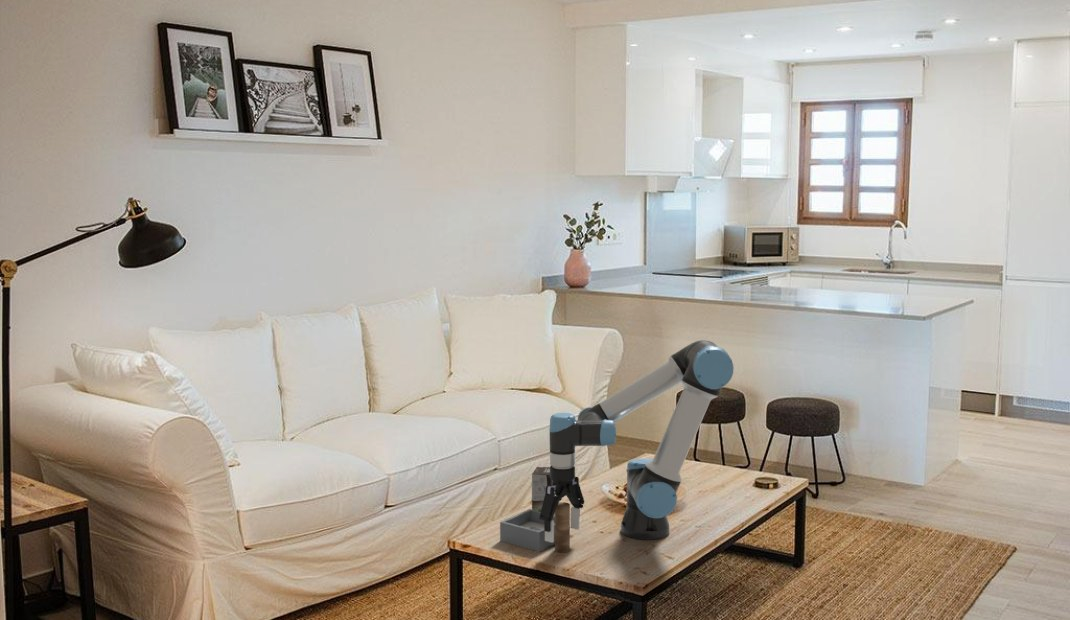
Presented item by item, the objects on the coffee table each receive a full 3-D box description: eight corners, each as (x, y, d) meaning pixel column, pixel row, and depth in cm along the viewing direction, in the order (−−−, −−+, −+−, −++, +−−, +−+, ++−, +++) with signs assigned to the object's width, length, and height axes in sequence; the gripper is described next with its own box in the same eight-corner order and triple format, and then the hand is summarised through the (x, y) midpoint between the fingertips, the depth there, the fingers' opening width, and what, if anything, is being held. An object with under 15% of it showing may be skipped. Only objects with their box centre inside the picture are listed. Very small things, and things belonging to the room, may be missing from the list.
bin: (568, 537, 313) (568, 518, 312) (539, 551, 301) (539, 532, 300) (529, 527, 321) (529, 509, 321) (500, 540, 310) (500, 522, 309)
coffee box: (550, 523, 325) (550, 475, 323) (531, 522, 326) (531, 473, 324) (555, 514, 334) (555, 466, 331) (536, 512, 335) (536, 465, 333)
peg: (572, 549, 303) (572, 504, 301) (564, 553, 299) (564, 507, 297) (560, 545, 305) (560, 501, 304) (552, 550, 302) (552, 505, 300)
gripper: (575, 454, 311) (575, 520, 314) (527, 473, 291) (527, 544, 294) (595, 458, 306) (595, 525, 309) (547, 477, 287) (548, 549, 290)
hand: (562, 535), depth 302 cm, fingers open, 12 cm apart
